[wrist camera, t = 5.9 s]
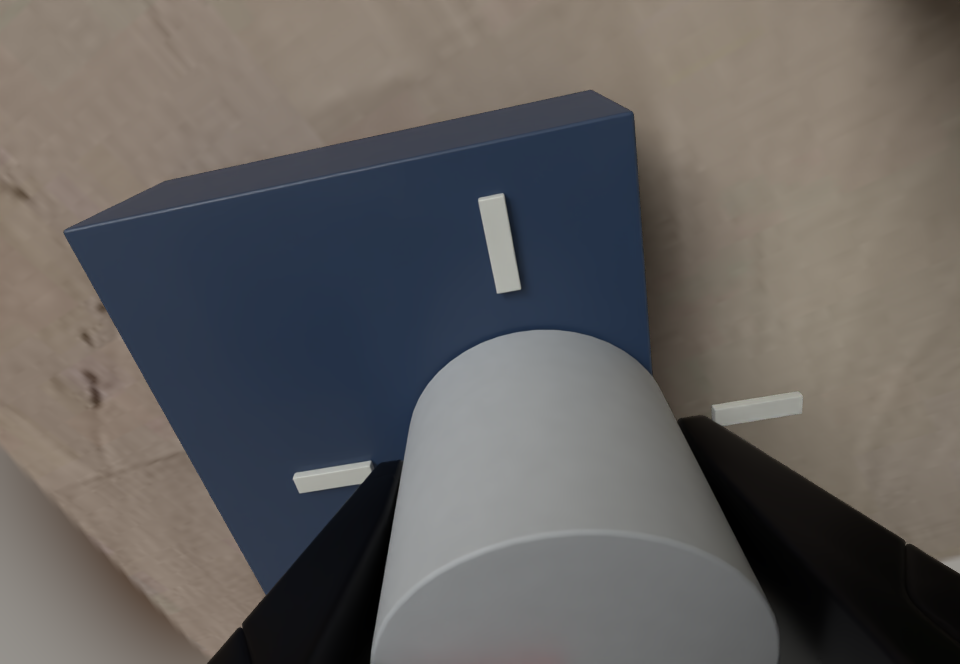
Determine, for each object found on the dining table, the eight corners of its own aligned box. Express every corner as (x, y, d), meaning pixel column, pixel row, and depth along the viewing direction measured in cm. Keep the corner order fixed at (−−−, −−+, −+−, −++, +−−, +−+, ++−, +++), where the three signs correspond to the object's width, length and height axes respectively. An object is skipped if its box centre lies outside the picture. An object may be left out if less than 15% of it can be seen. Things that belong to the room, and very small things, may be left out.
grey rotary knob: (662, 304, 9) (813, 525, 5) (675, 517, 11) (785, 792, 7) (377, 355, 9) (304, 597, 5) (441, 551, 11) (422, 829, 7)
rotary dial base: (727, 493, 14) (788, 606, 12) (332, 552, 15) (300, 669, 12) (728, 60, 10) (827, 72, 7) (163, 180, 11) (52, 234, 8)
